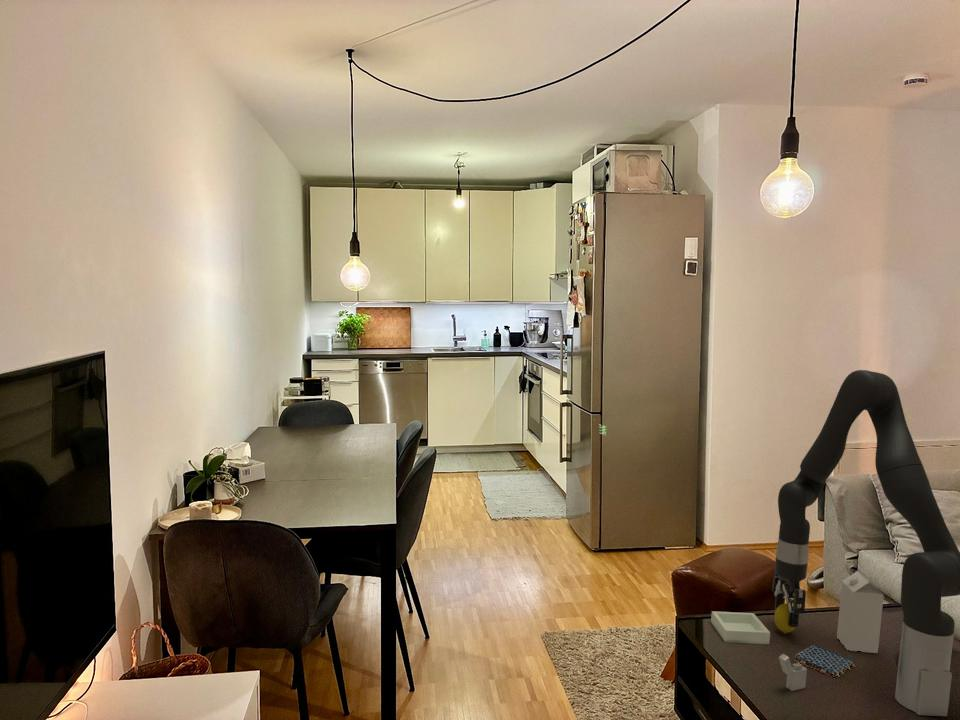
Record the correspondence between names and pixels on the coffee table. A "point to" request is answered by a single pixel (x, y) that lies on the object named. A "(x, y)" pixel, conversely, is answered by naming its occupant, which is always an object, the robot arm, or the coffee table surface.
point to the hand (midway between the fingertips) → (785, 618)
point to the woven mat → (824, 661)
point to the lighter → (793, 673)
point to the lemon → (783, 618)
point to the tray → (740, 627)
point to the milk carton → (860, 613)
